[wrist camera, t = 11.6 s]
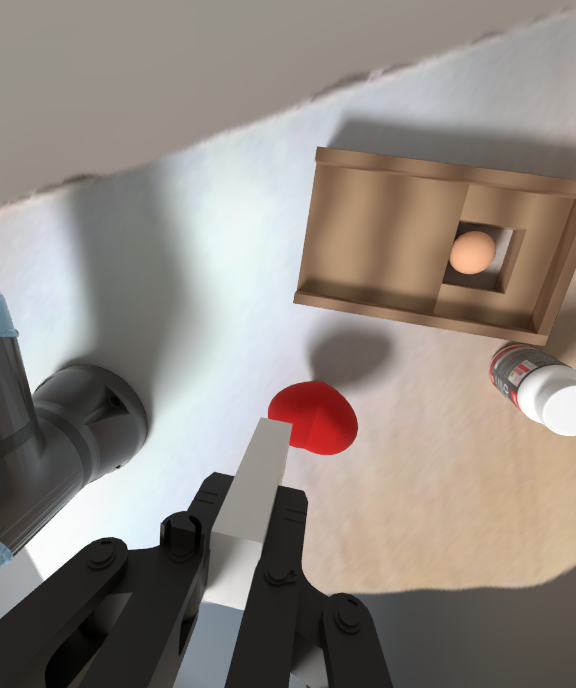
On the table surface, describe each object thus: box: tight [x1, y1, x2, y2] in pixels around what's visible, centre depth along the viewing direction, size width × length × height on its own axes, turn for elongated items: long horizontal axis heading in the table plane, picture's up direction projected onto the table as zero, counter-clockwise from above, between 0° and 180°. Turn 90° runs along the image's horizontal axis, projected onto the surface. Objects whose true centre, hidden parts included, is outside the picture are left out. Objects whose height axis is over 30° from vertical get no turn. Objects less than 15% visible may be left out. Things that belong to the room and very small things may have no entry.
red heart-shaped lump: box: [268, 381, 358, 455], centre depth 37 cm, size 9×7×10 cm
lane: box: [293, 147, 576, 346], centre depth 33 cm, size 24×14×4 cm, turn 81°
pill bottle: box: [489, 344, 576, 436], centre depth 33 cm, size 6×6×10 cm
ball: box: [449, 231, 496, 274], centre depth 33 cm, size 4×4×4 cm
